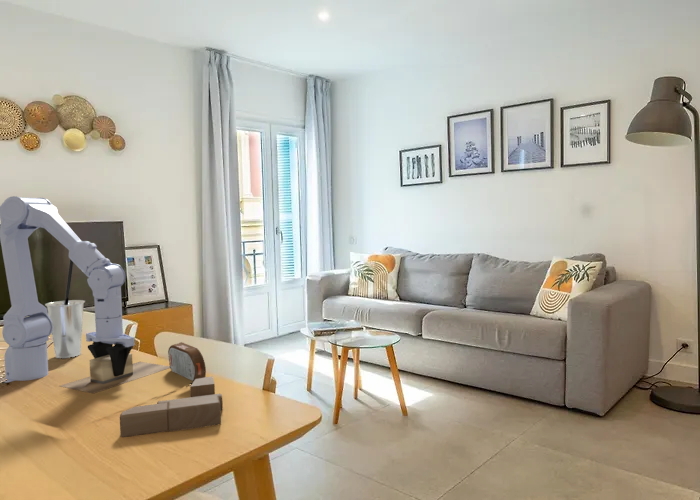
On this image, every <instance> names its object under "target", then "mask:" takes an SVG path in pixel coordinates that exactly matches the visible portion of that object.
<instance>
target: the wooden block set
mask: <svg viewBox="0 0 700 500" xmlns="http://www.w3.org/2000/svg"><path fill="white" fill-rule="evenodd" d="M192 382H193V381H192ZM192 382H191V383H192ZM215 388H216V387H215V380H214V376H213V375H211V376H205V378H199V379H195V380H194V382H193V383H192V385H190V386H189V389H190V390H189V392H190V393H189V394H190V397H183V398H175V399H166V400H159V401H157V403H154V404H148V405H138V406H133V407H130V408H129V409H126V410H124V411H122V412H121V413H120V414H119V430H120V431H119V432H120V437H121V438H129V437H134V436H142V435H148V434H155V433H162V432H176V431H177V432H178V431H185V430H191V429H200V428H205V426H207V427H211V426H212V425H214V426H219V425H218V424H220V425H221V424H222V414H221V413H222V412H221V411H223V408H224V407H223V395H222V394H221V393H216V392H215V391H216V389H215ZM212 427H213V426H212Z"/></svg>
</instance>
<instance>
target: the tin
mask: <svg viewBox="0 0 700 500" xmlns="http://www.w3.org/2000/svg"><path fill="white" fill-rule="evenodd" d="M167 354H168V362H169V365H168V366H170V368H169V369H170V371H171V373H175V374H177V375H179V376H180V377H183V378H186V379H188V380H190V381H192V382H190V383H189V385H190V384H191V385H192V383H193V382H194V380H195V379H199V378H205V377H207V374H206V373H207V369H206V362H205V359H204V357H203V354H202V353H201V351H200V350H199V349H198V348H197V347H196V346H193V345H190V344H188V343H185V342H183V341H181V342H179V343H175V344H172V345H170V346H169V347H168V351H167ZM191 385H190V386H191Z"/></svg>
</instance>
